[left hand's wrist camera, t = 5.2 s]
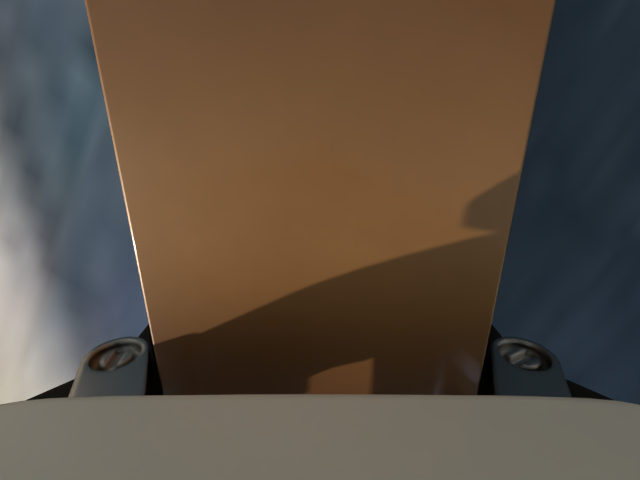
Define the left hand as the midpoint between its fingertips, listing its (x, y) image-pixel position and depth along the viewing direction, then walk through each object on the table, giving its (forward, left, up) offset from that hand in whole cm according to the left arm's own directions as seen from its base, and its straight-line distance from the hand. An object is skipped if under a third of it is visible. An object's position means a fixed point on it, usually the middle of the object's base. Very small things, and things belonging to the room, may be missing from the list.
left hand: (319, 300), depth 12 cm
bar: (-2, +22, -3) cm, 22 cm away
